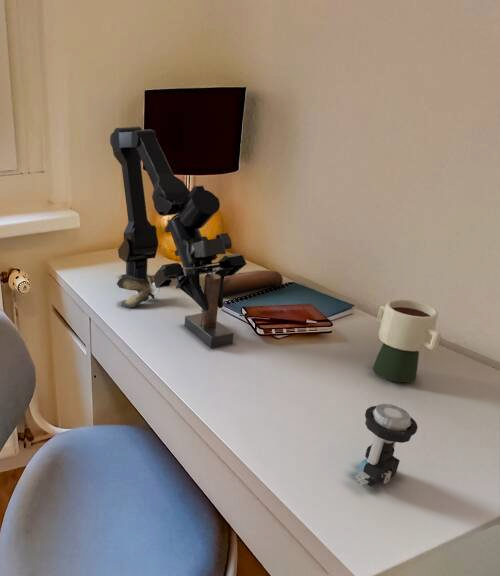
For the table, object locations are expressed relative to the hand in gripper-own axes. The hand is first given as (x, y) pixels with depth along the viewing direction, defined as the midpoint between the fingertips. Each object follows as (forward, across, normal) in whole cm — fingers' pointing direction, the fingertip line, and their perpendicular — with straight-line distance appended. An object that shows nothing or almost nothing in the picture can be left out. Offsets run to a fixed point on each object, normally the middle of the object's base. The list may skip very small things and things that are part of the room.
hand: (214, 308), depth 91 cm
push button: (+32, -2, -22) cm, 39 cm away
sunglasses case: (-9, +22, +18) cm, 30 cm away
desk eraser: (+4, 0, +6) cm, 7 cm away
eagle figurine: (-10, -6, +20) cm, 23 cm away
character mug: (+21, +21, -11) cm, 32 cm away
